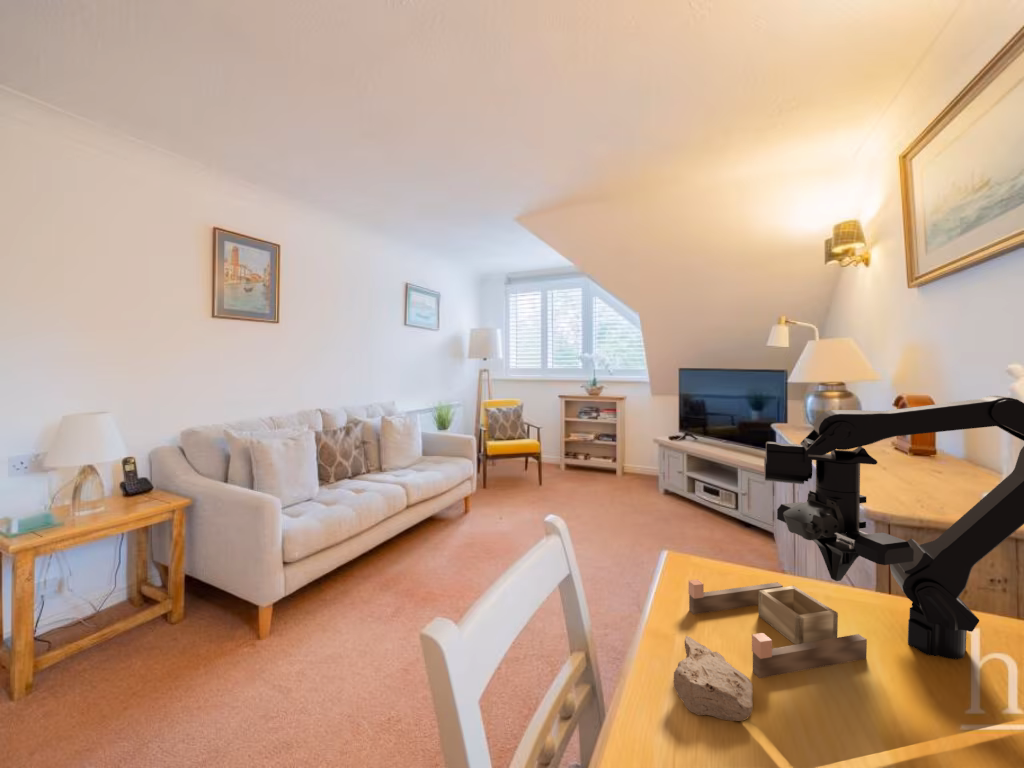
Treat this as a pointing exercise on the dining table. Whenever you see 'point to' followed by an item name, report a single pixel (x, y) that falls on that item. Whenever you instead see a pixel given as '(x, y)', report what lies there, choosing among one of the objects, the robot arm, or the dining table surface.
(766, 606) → the box
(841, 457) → the robot arm
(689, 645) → the stone
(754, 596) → the bay
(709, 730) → the dining table surface
